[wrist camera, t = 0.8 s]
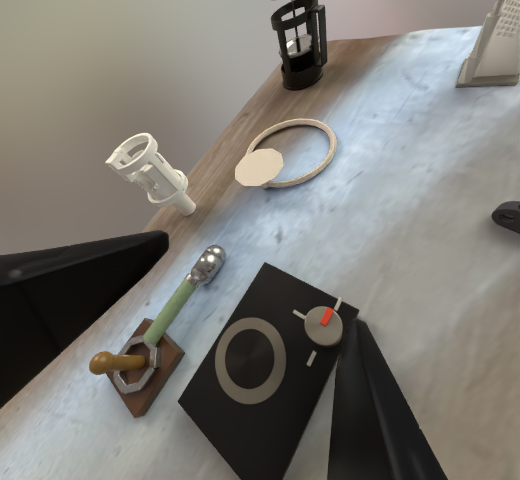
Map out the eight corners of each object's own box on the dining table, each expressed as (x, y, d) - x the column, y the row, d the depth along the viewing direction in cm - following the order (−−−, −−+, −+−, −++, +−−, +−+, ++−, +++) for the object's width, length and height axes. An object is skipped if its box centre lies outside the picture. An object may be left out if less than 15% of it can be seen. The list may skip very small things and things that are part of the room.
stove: (291, 515, 18) (284, 536, 16) (190, 398, 25) (176, 401, 23) (374, 321, 23) (378, 316, 21) (270, 267, 30) (265, 259, 28)
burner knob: (333, 355, 20) (332, 353, 17) (303, 335, 22) (297, 331, 19) (347, 324, 21) (349, 317, 18) (318, 308, 23) (314, 298, 19)
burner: (259, 425, 20) (258, 426, 20) (202, 368, 24) (201, 368, 24) (300, 344, 22) (300, 344, 22) (242, 304, 26) (241, 304, 26)
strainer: (166, 221, 41) (92, 161, 29) (185, 192, 44) (123, 126, 31) (193, 228, 38) (122, 163, 26) (211, 196, 41) (154, 124, 28)
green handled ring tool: (145, 402, 26) (121, 407, 23) (121, 369, 29) (98, 370, 27) (240, 259, 32) (230, 249, 29) (212, 244, 35) (200, 233, 32)
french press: (273, 88, 52) (235, -68, 33) (296, 65, 54) (273, -96, 35) (313, 93, 46) (294, -95, 27) (338, 67, 48) (337, -127, 29)
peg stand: (144, 415, 26) (77, 434, 19) (114, 371, 30) (50, 374, 23) (185, 352, 28) (137, 350, 21) (152, 319, 32) (103, 308, 25)
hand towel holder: (355, 102, 34) (291, 200, 29) (353, 127, 38) (296, 218, 32) (268, 99, 42) (207, 174, 37) (274, 119, 46) (218, 190, 41)
